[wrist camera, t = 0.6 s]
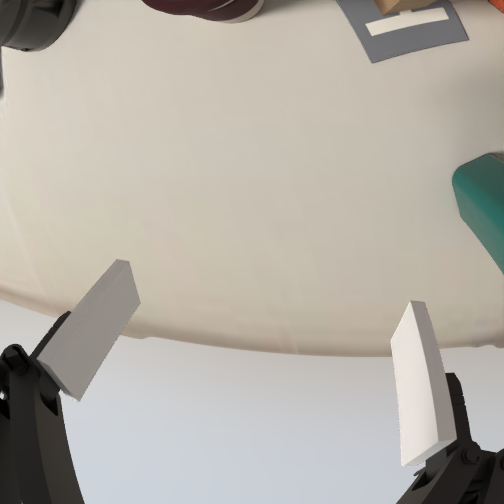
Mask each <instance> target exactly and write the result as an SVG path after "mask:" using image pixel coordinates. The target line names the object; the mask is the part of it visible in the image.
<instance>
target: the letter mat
mask: <svg viewBox="0 0 504 504" xmlns="http://www.w3.org/2000/svg"><path fill="white" fill-rule="evenodd" d="M336 1H337V3H338V4H339V6H340V7H341V9H342V11H343V12H344V14H345V15H346V17H347V19H348V20H349V22H350V24H351V26H352V27H353V29H354V31H355V33H356V34H357V36H358V38H359V40H360V42H361V44H362V45H363V47H364V49H365V51H366V53H367V55H368V57H369V59H370V61H371V63H374V62H377V61H381V60H384V59H387V58H391V57H394V56H398V55H401V54H405V53H409V52H413V51H417V50H421V49H425V48H429V47H434V46H438V45H443V44H448V43H453V42H459V41H465V40H468V38H467V36H466V34H465V31H464V29H463V27H462V25H461V23H460V21H459V19H458V17H457V15H456V13H455V11H454V9H453V7H452V5H451V3H450V1H449V0H437V1H435V2H433V3H431V4H429V5H428V6H426V7H422V8H416V9H411V10H406V11H401V12H397V13H393V14H388V15H384V16H383V15H382V14H381V12H380V10H379V9H378V7H377V5H376V4H375V2H374V0H336Z"/></svg>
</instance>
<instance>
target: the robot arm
mask: <svg viewBox="0 0 504 504" xmlns="http://www.w3.org/2000/svg"><path fill="white" fill-rule="evenodd" d="M75 4H76V0H0V47H1V46H5V47H9V48H13V49H16V50H21V51H24V52H34V51H40V50H43V49H45V48H47V47H49V46H50V45H51V44H52V43H53V42H54V41H55V40H56V39H57V38H58V37H59V36H60V35H61V33H62V32H63V30H64V29H65V27H66V25H67V24H68V22H69V20H70V18H71V15H72V13H73V10H74V7H75ZM139 305H140V299H139V296H138V292H137V289H136V285H135V282H134V278H133V274H132V270H131V267H130V263H129V261H124V260H119V259H117V260H116V261H115V262H114V263H113V264H112V265H111V266H110V267H109V269H108V270H107V271H106V272H105V273H104V274H103V275H102V276H101V278H100V279H99V280H98V281H97V282H96V283H95V285H94V286H93V287H92V288H91V289H90V291H89V292H88V293H87V294H86V295H85V296H84V298H83V299H82V300H81V301H80V303H79V304H78V305H77V306H76V307H75V309H74V310H73V311H72V312H70V311H67V312H66V313H64V314H63V315H62V316H60V317H59V318H58V320H57V321H56V322H55V323H54V325H53V327H51V328H50V330H49V331H48V333H47V334H46V335H45V336H44V338H43V339H42V340H41V342H40V343H39V344H38V346H37V347H36V348H35V350H34V351H33V352H32V354H31V355H30V356H28V355H27V353H26V352H25V351H24V349H23V348H22V346H21V345H19V344H12V345H10V346H8V347H7V348H6V349H4V351H3V353H2V354H1V356H0V393H1V392H2V393H3V394H4V398H3V399H1V398H0V504H85V503H84V500H83V497H82V494H81V491H80V488H79V484H78V481H77V477H76V475H75V470H74V467H73V462H72V458H71V454H70V450H69V445H68V440H67V436H66V430H65V424H64V419H63V412H62V405H61V398H60V395H59V393H58V392H59V391H60V389H61V390H62V391H63V392H64V394H65V395H66V396H68V397H70V398H71V399H73V400H75V401H77V402H79V401H80V400H81V398H82V396H83V394H84V393H85V391H86V389H87V387H88V386H89V384H90V382H91V381H92V379H93V377H94V376H95V374H96V372H97V371H98V369H99V367H100V365H101V364H102V362H103V361H104V359H105V357H106V356H107V354H108V353H109V351H110V349H111V348H112V346H113V345H114V343H115V341H116V340H117V338H118V337H119V335H120V334H121V332H122V330H123V329H124V327H125V326H126V324H127V323H128V321H129V320H130V318H131V317H132V315H133V314H134V312H135V311H136V309H137V308H138V306H139ZM390 342H391V348H392V355H393V361H394V369H395V377H396V386H397V395H398V407H399V420H400V438H401V466H402V467H404V466H414V465H419V464H421V463H422V462H424V461H425V460H426V467H424V468H423V469H421V470H419V471H417V472H416V473H415V474H414V476H416V475H418V474H419V475H418V477H417V478H416V479H415V481H414V482H413V483H412V485H411V486H410V487H409V489H408V490H407V491H406V492H405V493H404V495H403V496H402V497H401V498H400V500H399V501H398V502H397V503H396V504H504V449H502V450H500V451H499V452H497V453H496V452H490V451H485V450H481V449H480V446H479V445H478V444H477V443H476V442H474V441H472V438H471V434H470V428H469V422H468V417H467V411H466V406H465V405H464V404H465V401H464V396H463V392H462V387H461V384H460V381H459V380H458V378H457V377H456V375H455V373H445V371H444V367H443V363H442V359H441V355H440V351H439V347H438V344H437V340H436V337H435V333H434V330H433V327H432V323H431V320H430V317H429V314H428V311H427V308H426V305H425V302H420V301H410V302H409V304H408V306H407V309H406V311H405V313H404V315H403V317H402V319H401V321H400V323H399V325H398V327H397V329H396V331H395V333H394V335H393V337H392V339H391V341H390Z"/></svg>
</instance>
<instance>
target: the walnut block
mask: <svg viewBox="0 0 504 504" xmlns="http://www.w3.org/2000/svg"><path fill="white" fill-rule="evenodd" d="M435 1H437V0H374V2H375V4H376V5H377V7H378V9H379V10H380V12H381V14H382V15H383V16H384V15H388V14H393V13H397V12H401V11H406V10H411V9H416V8H422V7H426V6H428V5H429V4H431V3H433V2H435Z"/></svg>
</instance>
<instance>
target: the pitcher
mask: <svg viewBox="0 0 504 504" xmlns="http://www.w3.org/2000/svg"><path fill="white" fill-rule="evenodd" d="M452 185H453V189H454V192H455V196H456V200H457V203H458V207H459V211H460V216H461V218H462V219H463V220H464V221H465V223H466V224H467V225H468V226H469V228H470V229H471V230H472V231H473V233H474V234H475V235H476V237H477V238H478V239H479V241H480V242H481V243H482V245H483V246H484V247H485V249H486V250H487V251H488V253H489V254H490V256H491V257H492V258H493V260H494V261H495V263H496V264H497V266H498V267H499V269H500V270H501V272H502V273H503V275H504V161H502V160H501V159H499V158H497V157H496V156H494V155H492V154H486V155H484V156H482V157H480V158H478V159H476V160H474V161H471V162H469V163H467V164H465V165H463V166H461V167H458V169H457V170H456V171H455V172H454V175H453V177H452Z"/></svg>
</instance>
